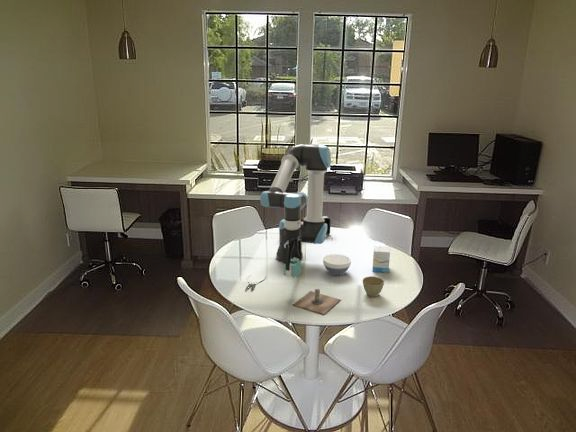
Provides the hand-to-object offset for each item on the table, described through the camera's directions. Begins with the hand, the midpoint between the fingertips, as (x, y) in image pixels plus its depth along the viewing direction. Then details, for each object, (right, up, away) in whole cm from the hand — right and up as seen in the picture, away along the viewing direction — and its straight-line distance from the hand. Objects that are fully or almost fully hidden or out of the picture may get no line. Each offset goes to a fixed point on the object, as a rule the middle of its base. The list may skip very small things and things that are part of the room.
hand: (292, 273), depth 215 cm
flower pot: (+38, -10, -1) cm, 39 cm away
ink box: (+48, -2, +29) cm, 56 cm away
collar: (0, 0, 0) cm, 0 cm away
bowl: (+24, -3, +24) cm, 34 cm away
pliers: (-18, -7, +11) cm, 22 cm away
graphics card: (+9, +14, +80) cm, 82 cm away
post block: (+11, -12, -9) cm, 19 cm away
